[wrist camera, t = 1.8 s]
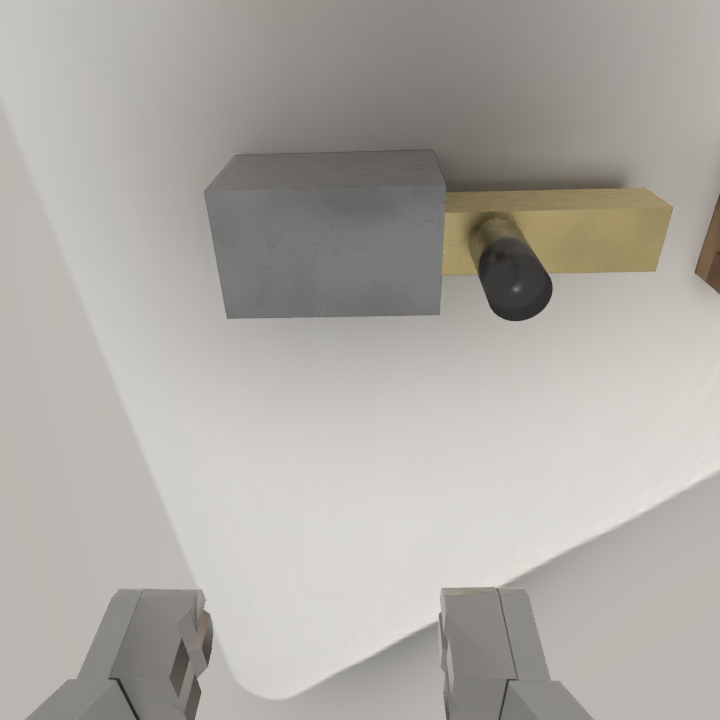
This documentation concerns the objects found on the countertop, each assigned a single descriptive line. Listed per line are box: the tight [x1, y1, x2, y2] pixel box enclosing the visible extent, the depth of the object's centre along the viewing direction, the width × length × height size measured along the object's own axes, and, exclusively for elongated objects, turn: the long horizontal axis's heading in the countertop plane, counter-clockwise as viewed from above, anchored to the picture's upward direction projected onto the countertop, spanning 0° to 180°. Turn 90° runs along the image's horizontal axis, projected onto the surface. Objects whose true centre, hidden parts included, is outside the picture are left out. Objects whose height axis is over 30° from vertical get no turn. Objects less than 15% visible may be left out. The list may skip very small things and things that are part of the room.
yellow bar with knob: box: [442, 188, 673, 321], centre depth 25 cm, size 3×20×8 cm, turn 92°
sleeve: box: [204, 150, 447, 319], centre depth 27 cm, size 6×10×6 cm, turn 92°
